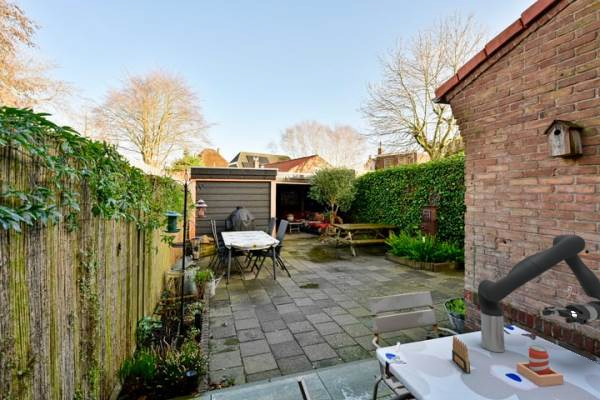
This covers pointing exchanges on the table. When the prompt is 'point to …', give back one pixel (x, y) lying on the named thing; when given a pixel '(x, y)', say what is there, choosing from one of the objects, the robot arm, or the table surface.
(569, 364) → the table surface
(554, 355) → the table surface
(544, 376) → the terracotta collar
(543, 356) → the beverage can
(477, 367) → the table surface
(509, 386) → the table surface
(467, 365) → the ammunition clip
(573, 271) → the robot arm
